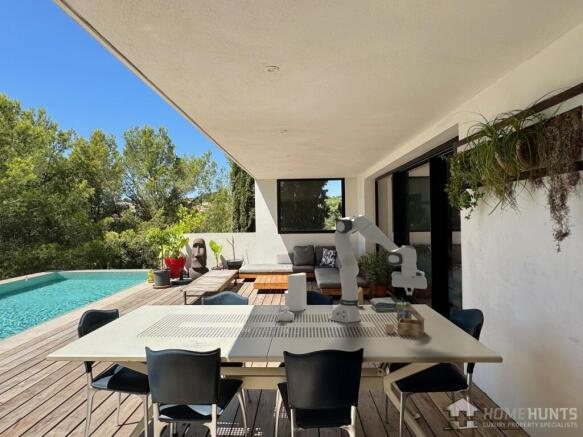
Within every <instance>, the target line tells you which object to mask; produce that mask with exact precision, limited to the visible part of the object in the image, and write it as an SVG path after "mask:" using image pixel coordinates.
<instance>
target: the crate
mask: <svg viewBox="0 0 583 437" xmlns="http://www.w3.org/2000/svg"><path fill="white" fill-rule="evenodd" d="M424 334H425V322H424V323H423V324H421V323H420V322H419V321H418V320H417V319H404V318H400V319H399V321H398V320H397V335H398V336H399V335H400V336H406V337H408V336H409V337H416V338H423V337H424Z"/></svg>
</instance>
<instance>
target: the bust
mask: <svg viewBox="0 0 583 437" xmlns="http://www.w3.org/2000/svg"><path fill="white" fill-rule="evenodd" d="M289 309H290V308H289V307H288V306H285V305H284V306H282V307H281V310H282V311H280V312H279V313H277V314H276V316H277V320H278V321H281V322H290V321H294V319H295V313H293V311H292V312H291V311H290V310H289Z"/></svg>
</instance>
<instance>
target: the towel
mask: <svg viewBox="0 0 583 437" xmlns="http://www.w3.org/2000/svg"><path fill="white" fill-rule="evenodd" d="M370 305H372V306H370V307H371V308H372V309H373V310H374V311H375V312H388V311H390V312H391V311H395V312H397V305H396V301H394V300H393V299H392V297H377V298H376V297H374V298H372V299H370Z"/></svg>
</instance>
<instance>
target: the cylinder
mask: <svg viewBox="0 0 583 437" xmlns="http://www.w3.org/2000/svg"><path fill="white" fill-rule="evenodd" d="M284 306H288V307H289V308H290V309H289V310H288V311H289V312H291V311H292V312H299V311H300V310H301V311H304V309H305V310H306V309H307V306H308V305H307V273H306V272H300V273H299V272H298V273H292V274H288V275H287V290H284Z"/></svg>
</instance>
